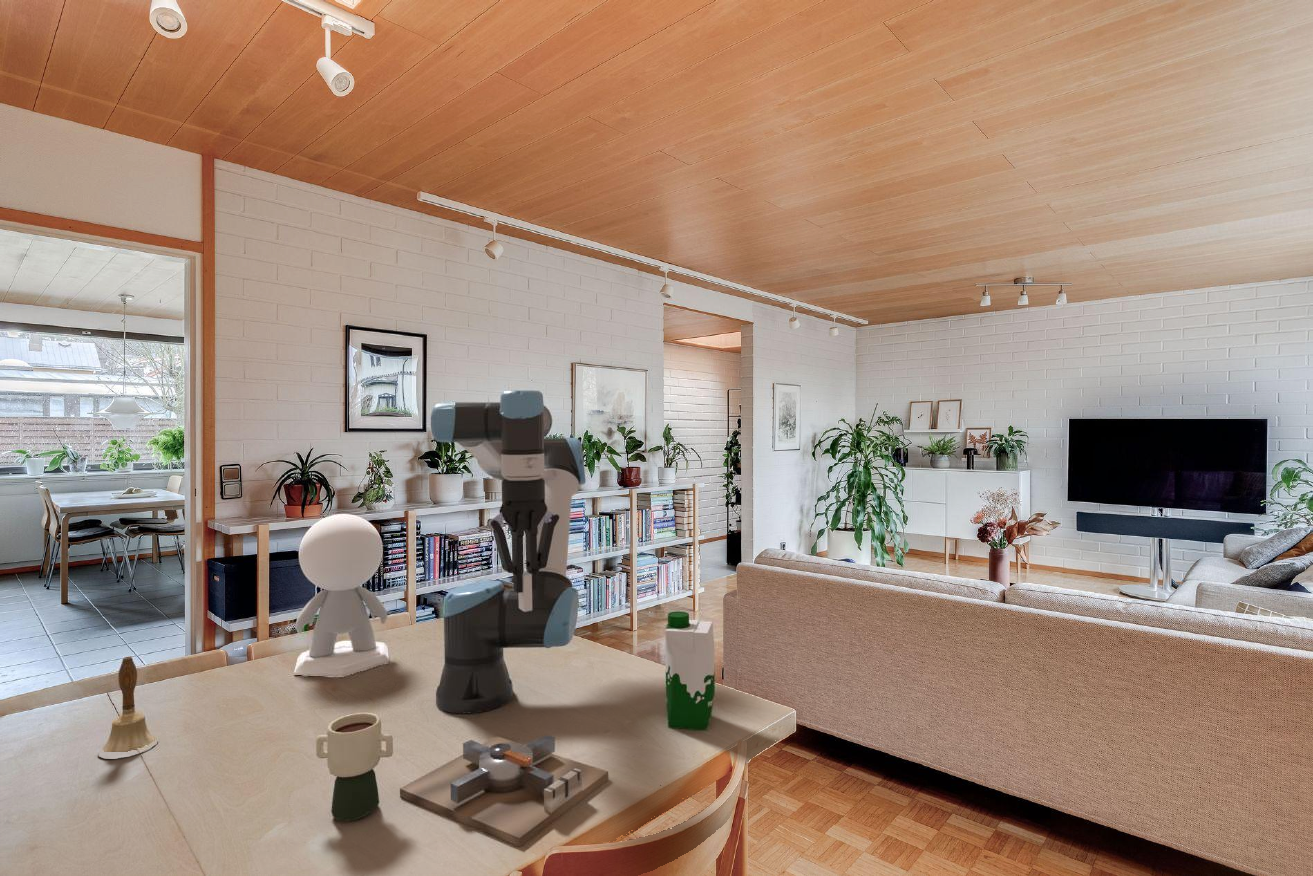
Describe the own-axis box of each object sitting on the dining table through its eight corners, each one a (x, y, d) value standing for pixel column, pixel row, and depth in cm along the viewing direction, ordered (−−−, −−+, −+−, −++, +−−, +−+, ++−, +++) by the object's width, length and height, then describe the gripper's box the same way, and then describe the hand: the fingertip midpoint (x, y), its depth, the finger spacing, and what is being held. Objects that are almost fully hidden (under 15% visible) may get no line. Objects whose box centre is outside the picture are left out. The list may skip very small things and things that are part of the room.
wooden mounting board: (400, 796, 101) (399, 768, 101) (496, 743, 119) (496, 719, 118) (519, 847, 89) (519, 815, 89) (608, 779, 106) (608, 752, 106)
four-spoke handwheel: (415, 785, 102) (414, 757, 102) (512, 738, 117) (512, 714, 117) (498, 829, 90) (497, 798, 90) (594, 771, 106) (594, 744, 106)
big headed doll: (386, 642, 176) (384, 507, 175) (390, 671, 155) (388, 518, 154) (299, 653, 168) (297, 512, 167) (291, 685, 147) (288, 523, 146)
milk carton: (671, 709, 132) (670, 607, 132) (717, 713, 130) (716, 609, 130) (662, 729, 123) (661, 620, 123) (711, 733, 122) (711, 622, 121)
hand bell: (169, 741, 120) (168, 652, 120) (119, 763, 112) (117, 668, 112) (137, 735, 123) (135, 647, 123) (86, 756, 115) (84, 662, 115)
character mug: (402, 798, 101) (401, 711, 101) (384, 826, 94) (382, 733, 94) (329, 799, 101) (327, 712, 101) (305, 827, 94) (303, 734, 94)
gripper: (494, 482, 113) (497, 621, 114) (565, 477, 120) (567, 608, 121) (480, 478, 119) (482, 610, 121) (548, 473, 126) (550, 598, 128)
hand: (525, 609), depth 121 cm, fingers closed
